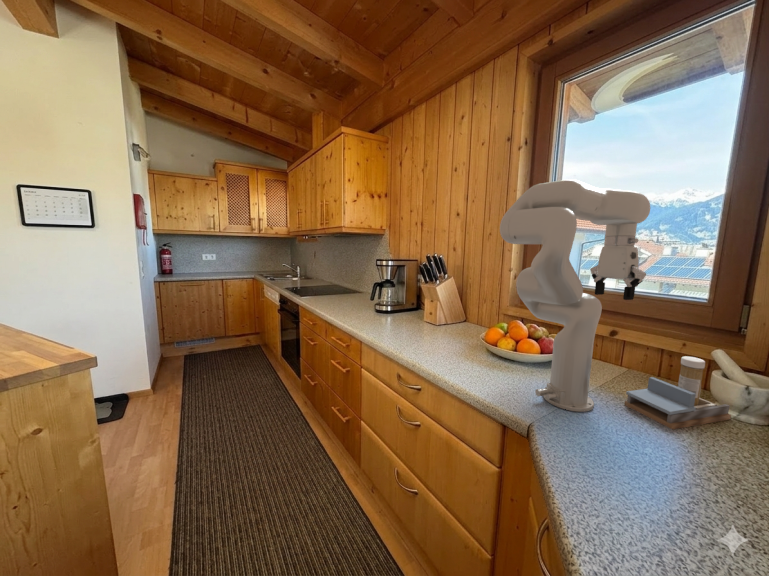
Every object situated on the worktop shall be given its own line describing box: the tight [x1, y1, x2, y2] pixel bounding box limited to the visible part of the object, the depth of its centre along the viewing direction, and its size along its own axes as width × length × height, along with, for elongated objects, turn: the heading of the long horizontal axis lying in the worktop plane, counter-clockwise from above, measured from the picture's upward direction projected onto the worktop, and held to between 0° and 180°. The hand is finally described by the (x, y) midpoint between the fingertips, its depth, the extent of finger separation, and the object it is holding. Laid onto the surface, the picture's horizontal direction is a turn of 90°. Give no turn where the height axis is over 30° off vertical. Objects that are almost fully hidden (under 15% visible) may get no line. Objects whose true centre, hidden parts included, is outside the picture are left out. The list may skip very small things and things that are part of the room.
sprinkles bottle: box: [677, 355, 706, 406], centre depth 84 cm, size 5×5×14 cm
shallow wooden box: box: [624, 395, 732, 430], centre depth 84 cm, size 20×12×3 cm, turn 104°
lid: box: [625, 376, 696, 415], centre depth 82 cm, size 8×11×4 cm
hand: (613, 296), depth 98 cm, fingers open, 9 cm apart
